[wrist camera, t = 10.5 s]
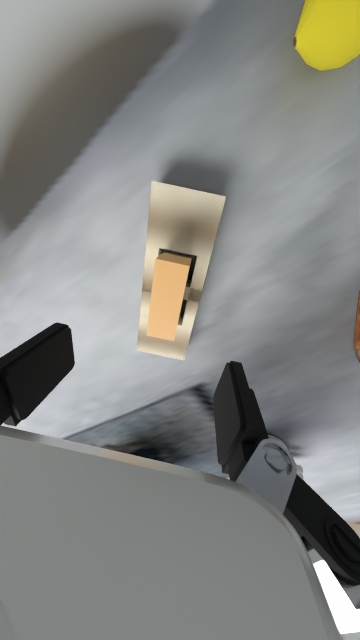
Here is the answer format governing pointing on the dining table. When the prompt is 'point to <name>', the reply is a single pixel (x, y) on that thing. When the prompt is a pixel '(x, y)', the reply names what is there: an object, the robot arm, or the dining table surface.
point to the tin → (357, 332)
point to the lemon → (328, 33)
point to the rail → (181, 236)
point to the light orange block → (167, 294)
